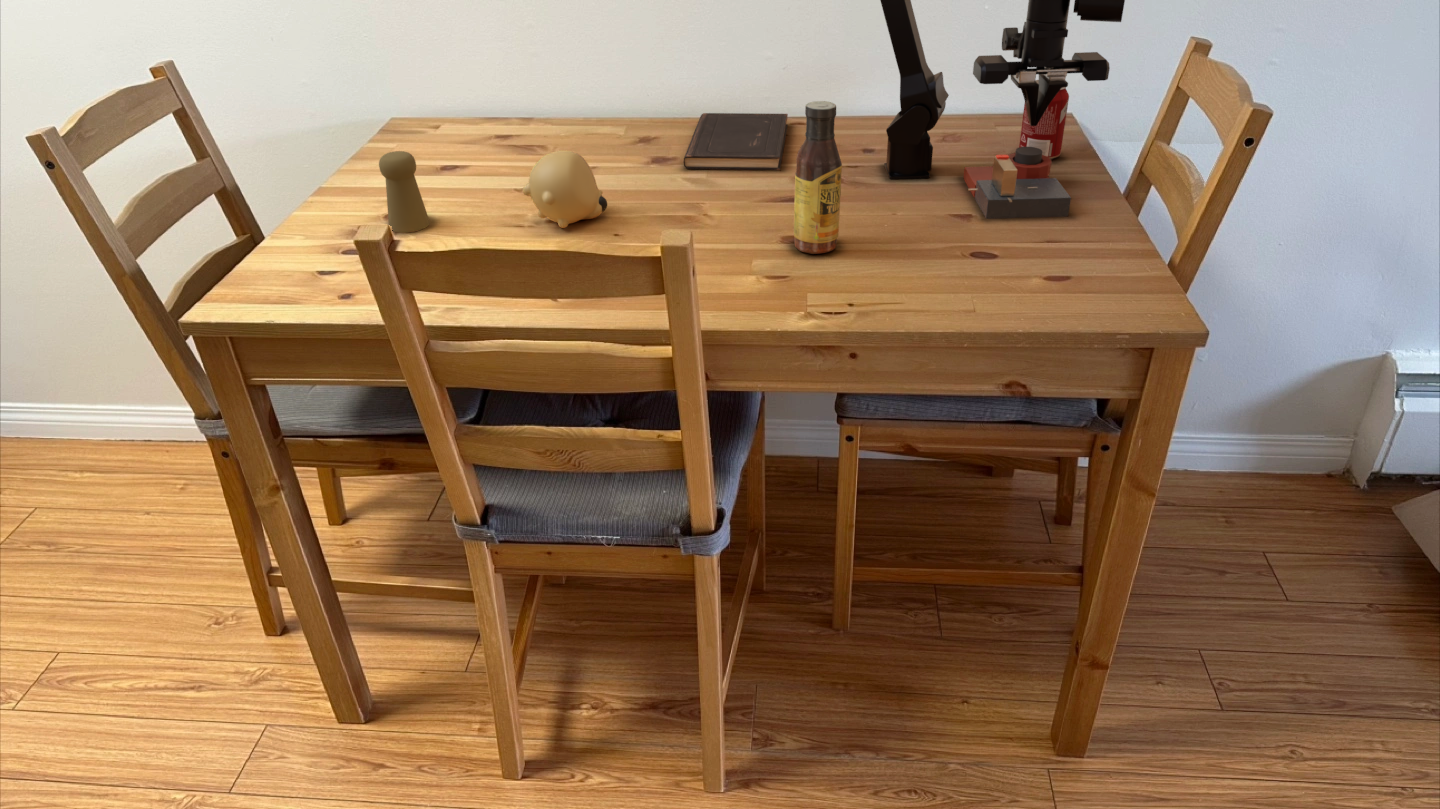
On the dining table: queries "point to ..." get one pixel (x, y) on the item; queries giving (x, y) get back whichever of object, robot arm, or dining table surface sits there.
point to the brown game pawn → (403, 193)
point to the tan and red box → (1004, 175)
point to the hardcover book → (737, 142)
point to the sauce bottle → (818, 182)
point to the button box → (1022, 170)
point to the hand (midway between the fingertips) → (1032, 125)
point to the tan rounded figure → (564, 188)
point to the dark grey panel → (1023, 199)
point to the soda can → (1047, 127)
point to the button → (1028, 155)
